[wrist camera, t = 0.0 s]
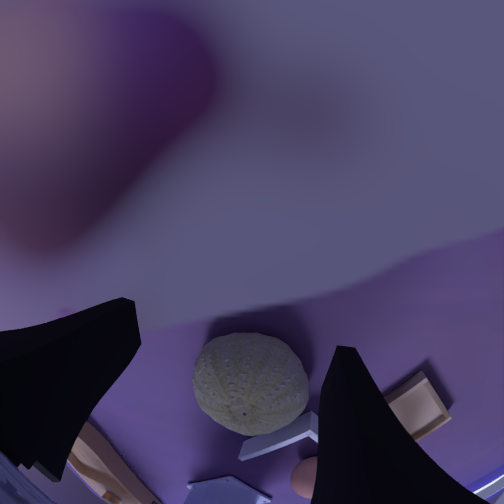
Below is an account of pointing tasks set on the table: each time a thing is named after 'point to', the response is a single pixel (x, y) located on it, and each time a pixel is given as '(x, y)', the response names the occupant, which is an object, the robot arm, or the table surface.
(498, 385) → the table surface
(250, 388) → the sea urchin shell
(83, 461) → the lamp
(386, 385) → the table surface
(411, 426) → the tray
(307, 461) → the ball
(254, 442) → the white u-shaped arch
